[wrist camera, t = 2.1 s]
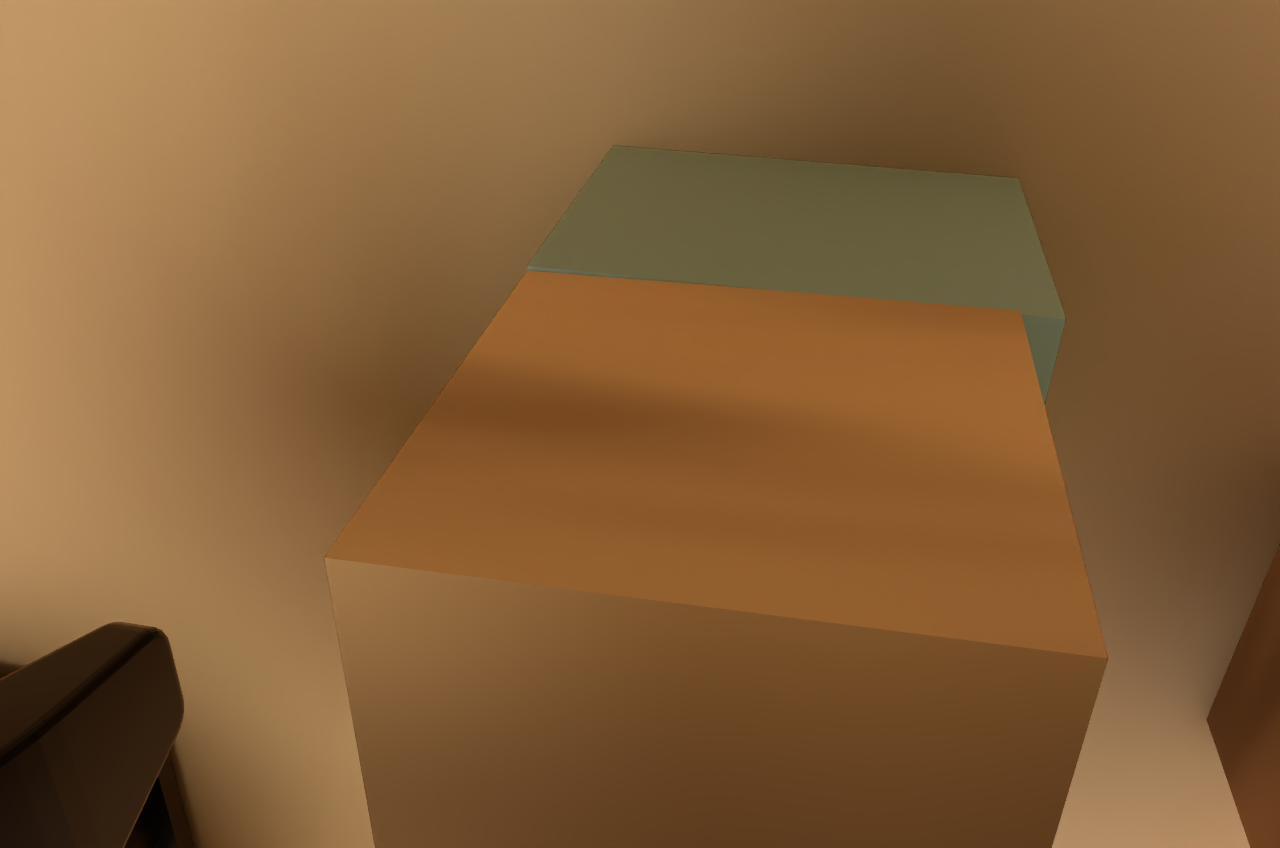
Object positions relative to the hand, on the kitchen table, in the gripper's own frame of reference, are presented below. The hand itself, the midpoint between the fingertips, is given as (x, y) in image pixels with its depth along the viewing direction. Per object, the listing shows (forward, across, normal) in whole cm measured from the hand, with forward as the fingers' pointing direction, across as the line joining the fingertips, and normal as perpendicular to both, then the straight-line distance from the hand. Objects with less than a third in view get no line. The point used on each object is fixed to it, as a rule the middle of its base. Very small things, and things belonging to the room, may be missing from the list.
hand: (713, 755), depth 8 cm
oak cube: (+3, 0, 0) cm, 3 cm away
